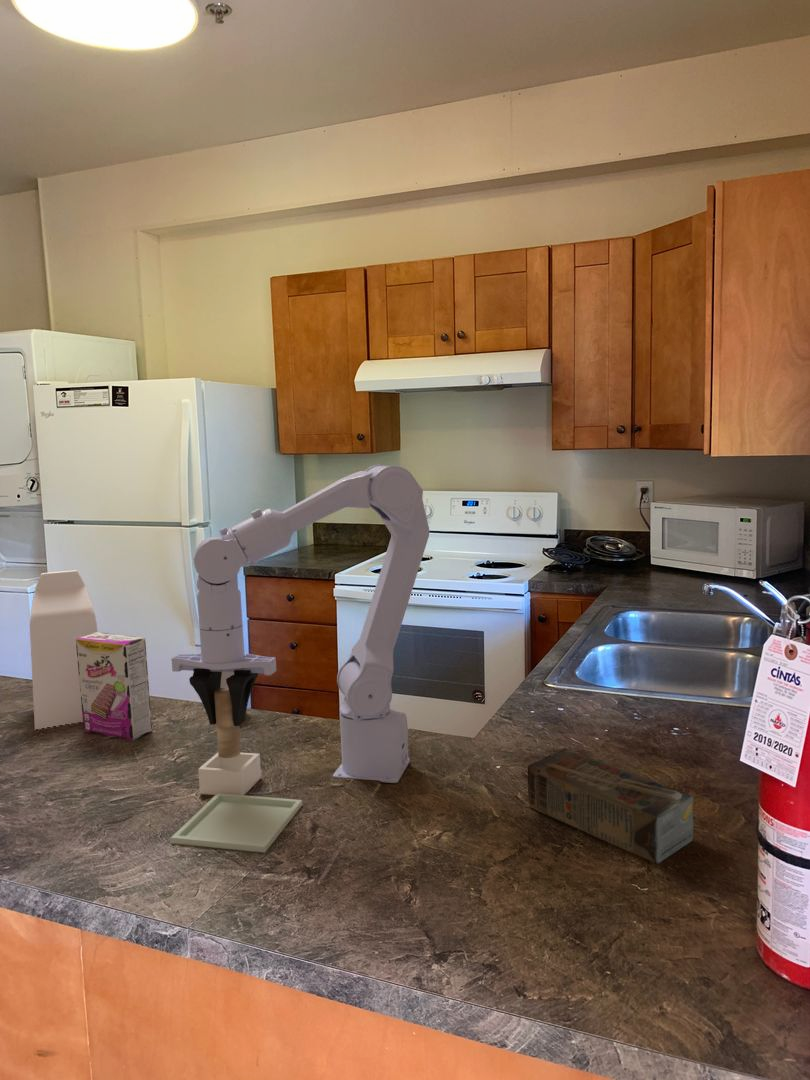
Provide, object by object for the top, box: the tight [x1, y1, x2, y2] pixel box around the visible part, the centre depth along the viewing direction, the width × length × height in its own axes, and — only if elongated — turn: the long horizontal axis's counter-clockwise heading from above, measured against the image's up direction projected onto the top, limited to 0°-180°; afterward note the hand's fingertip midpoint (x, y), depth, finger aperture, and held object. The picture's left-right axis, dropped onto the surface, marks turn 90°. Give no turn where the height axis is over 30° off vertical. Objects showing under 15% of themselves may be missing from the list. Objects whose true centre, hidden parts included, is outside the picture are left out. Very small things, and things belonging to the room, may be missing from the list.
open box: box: [197, 752, 262, 796], centre depth 109 cm, size 6×6×4 cm
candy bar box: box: [75, 632, 153, 741], centre depth 132 cm, size 11×5×16 cm, turn 65°
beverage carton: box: [527, 748, 695, 864], centre depth 96 cm, size 8×19×7 cm, turn 40°
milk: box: [29, 569, 98, 731], centre depth 141 cm, size 12×12×26 cm
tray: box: [170, 793, 303, 854], centre depth 98 cm, size 12×12×1 cm
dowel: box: [214, 687, 242, 758], centre depth 108 cm, size 3×3×9 cm
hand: (227, 722), depth 108 cm, fingers closed on dowel, 3 cm apart
